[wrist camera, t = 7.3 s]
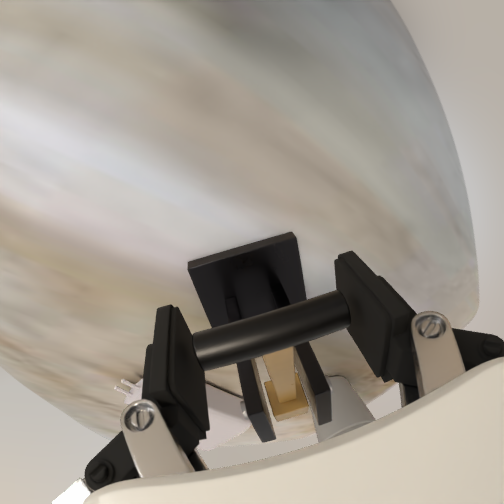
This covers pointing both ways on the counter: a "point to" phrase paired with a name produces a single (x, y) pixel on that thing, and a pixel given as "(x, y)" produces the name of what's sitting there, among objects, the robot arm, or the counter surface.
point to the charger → (219, 409)
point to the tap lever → (275, 345)
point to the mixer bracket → (255, 303)
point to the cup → (343, 411)
